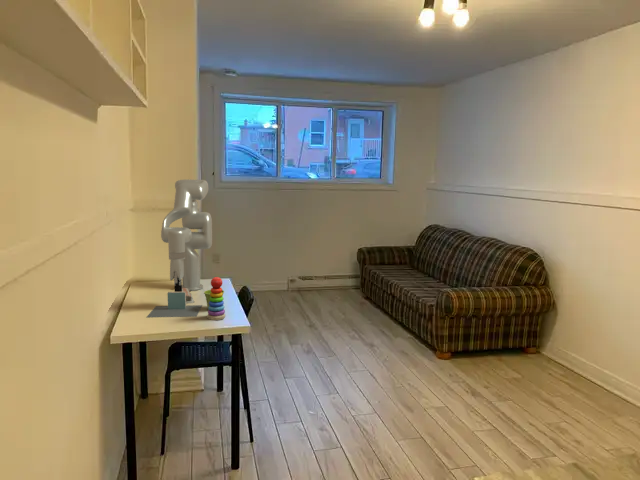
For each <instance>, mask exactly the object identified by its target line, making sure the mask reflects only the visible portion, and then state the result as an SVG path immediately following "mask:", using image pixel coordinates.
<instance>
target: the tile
mask: <svg viewBox="0 0 640 480" xmlns="http://www.w3.org/2000/svg"><path fill="white" fill-rule="evenodd" d="M167 306H168V309H186V306H187V304H186V292H175V291H168V292H167Z"/></svg>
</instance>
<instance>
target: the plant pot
mask: <svg viewBox="0 0 640 480" xmlns="http://www.w3.org/2000/svg"><path fill="white" fill-rule="evenodd" d="M210 293H211V289H207V290H204V291H203V294H204V297H205V300H206V305H207V311H208V310H209V309H208V307H209V302H210V297H211V296H210ZM222 293H223V294H224V293H225V291H224V290H223V289H222ZM222 297H223V298H224V295H223V296H222Z"/></svg>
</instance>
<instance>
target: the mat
mask: <svg viewBox="0 0 640 480" xmlns="http://www.w3.org/2000/svg"><path fill="white" fill-rule="evenodd" d="M202 307H203V304H197V305H196V304H194V305H193V304H192V305H187V304H186V309H168V305H155V307H154V308H153V309H152V310H151V312H149V314H148V315H147V316H146V318H147V319H148V318H149V319H150V318H190V317H191V318H193V317H194V318H195V317H197V316H198V315H199V313H200V311H201V309H202Z"/></svg>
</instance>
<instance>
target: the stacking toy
mask: <svg viewBox="0 0 640 480" xmlns="http://www.w3.org/2000/svg"><path fill="white" fill-rule="evenodd" d="M210 286H211V288H210V290H211V293H210V296H211V297H210V302H209V307H207V316H206V317H207V319H208V320H211V321H220V320H223V319H225V318H226V311H225V310H226V309H225V305H224V304H225V303H224V293H222V290H223V288H222V286H223V279H221V277H219V276H216V277H213V278H212V279H211V280H210ZM222 296H223V297H222ZM208 309H209V310H208Z"/></svg>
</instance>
